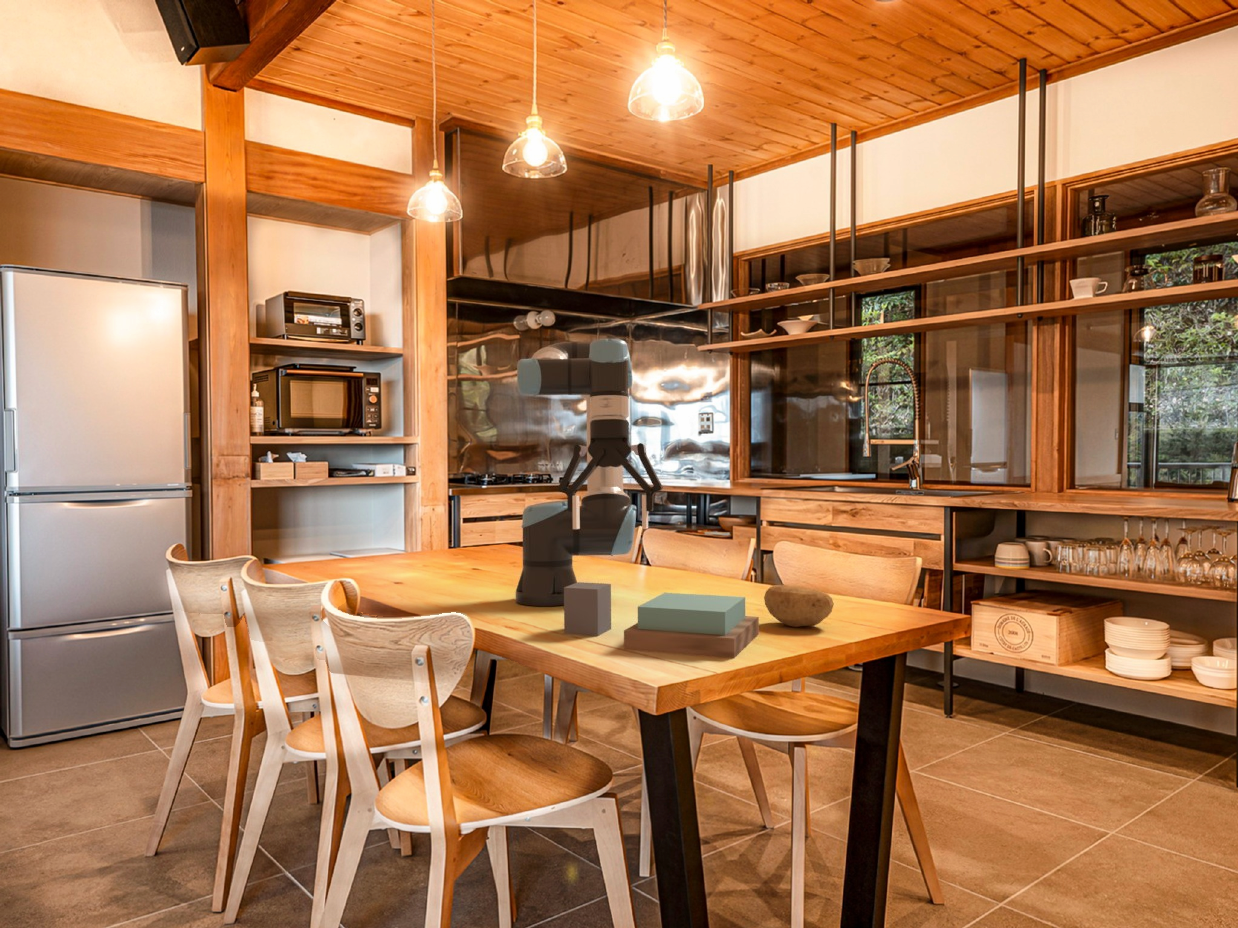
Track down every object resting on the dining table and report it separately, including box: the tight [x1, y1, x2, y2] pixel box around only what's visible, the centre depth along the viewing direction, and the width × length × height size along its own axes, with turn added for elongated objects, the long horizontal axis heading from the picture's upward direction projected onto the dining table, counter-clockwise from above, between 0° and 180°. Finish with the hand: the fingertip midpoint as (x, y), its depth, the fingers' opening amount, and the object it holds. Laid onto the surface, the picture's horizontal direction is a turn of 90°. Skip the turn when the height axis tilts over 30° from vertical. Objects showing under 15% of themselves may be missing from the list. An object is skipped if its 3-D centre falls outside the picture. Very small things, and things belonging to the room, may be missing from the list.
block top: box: [637, 592, 746, 635], centre depth 161 cm, size 16×16×4 cm
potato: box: [763, 584, 834, 628], centre depth 174 cm, size 10×14×8 cm
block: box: [563, 581, 612, 637], centre depth 171 cm, size 7×7×9 cm
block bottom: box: [623, 615, 760, 659], centre depth 161 cm, size 20×20×4 cm
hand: (610, 529), depth 169 cm, fingers open, 13 cm apart
